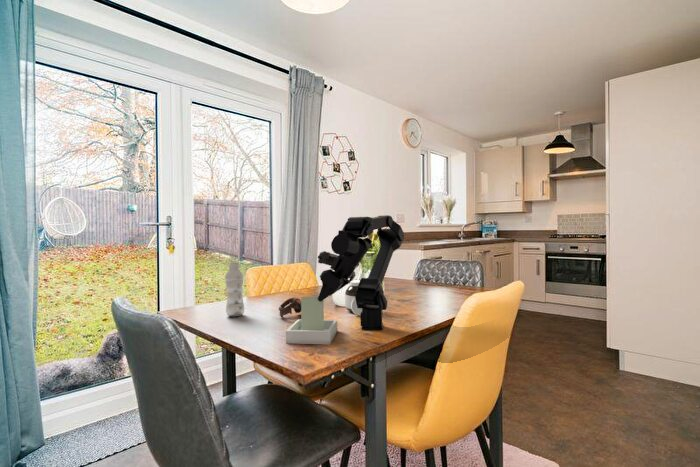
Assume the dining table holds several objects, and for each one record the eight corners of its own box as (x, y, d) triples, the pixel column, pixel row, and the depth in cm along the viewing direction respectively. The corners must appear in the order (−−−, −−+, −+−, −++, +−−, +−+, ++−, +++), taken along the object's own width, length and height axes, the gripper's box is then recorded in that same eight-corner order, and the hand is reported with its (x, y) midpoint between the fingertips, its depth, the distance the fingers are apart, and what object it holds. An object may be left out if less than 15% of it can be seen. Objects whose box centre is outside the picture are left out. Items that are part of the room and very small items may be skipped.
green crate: (323, 330, 109) (323, 297, 111) (324, 331, 102) (323, 296, 105) (302, 331, 108) (302, 298, 111) (301, 332, 102) (301, 296, 104)
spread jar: (361, 307, 143) (361, 278, 143) (381, 312, 134) (381, 281, 134) (338, 312, 135) (337, 282, 135) (357, 318, 126) (357, 285, 126)
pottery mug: (308, 322, 124) (295, 303, 122) (285, 333, 126) (272, 314, 124) (312, 306, 136) (301, 288, 134) (291, 316, 137) (280, 299, 135)
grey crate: (337, 331, 111) (337, 319, 111) (330, 344, 98) (329, 331, 98) (298, 330, 112) (297, 319, 112) (286, 343, 100) (285, 330, 100)
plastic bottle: (241, 318, 129) (240, 263, 129) (223, 318, 129) (221, 263, 129) (247, 314, 136) (245, 261, 135) (229, 314, 136) (228, 262, 135)
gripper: (339, 240, 117) (314, 277, 119) (320, 242, 99) (291, 286, 101) (366, 259, 115) (340, 298, 117) (352, 265, 97) (321, 310, 99)
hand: (324, 297), depth 109 cm, fingers open, 9 cm apart
